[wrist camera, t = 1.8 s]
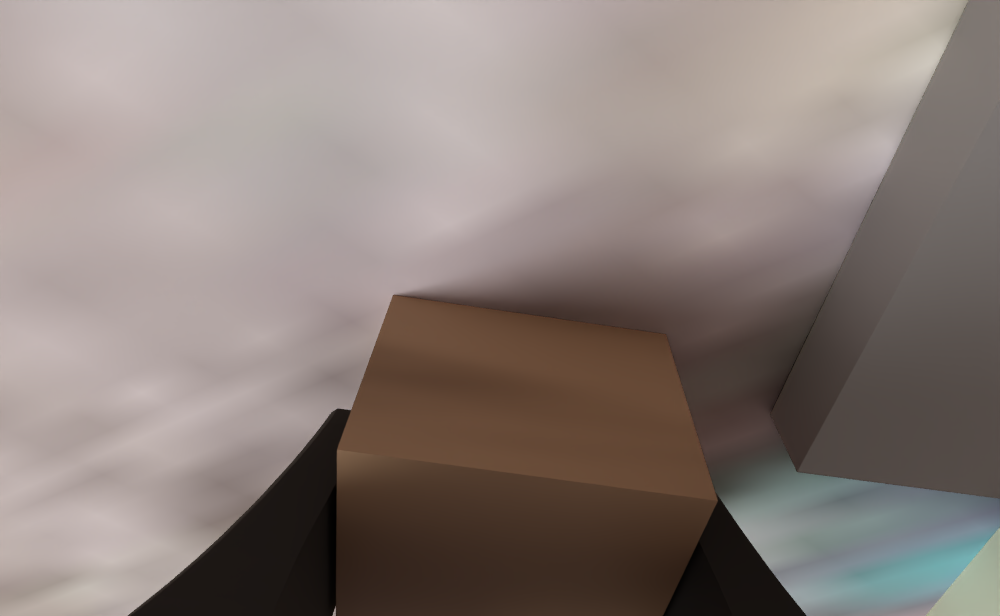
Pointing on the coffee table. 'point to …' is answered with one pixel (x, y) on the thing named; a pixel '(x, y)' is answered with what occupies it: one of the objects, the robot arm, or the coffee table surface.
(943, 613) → the sage block
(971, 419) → the plinth
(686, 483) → the walnut block
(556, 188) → the coffee table surface
